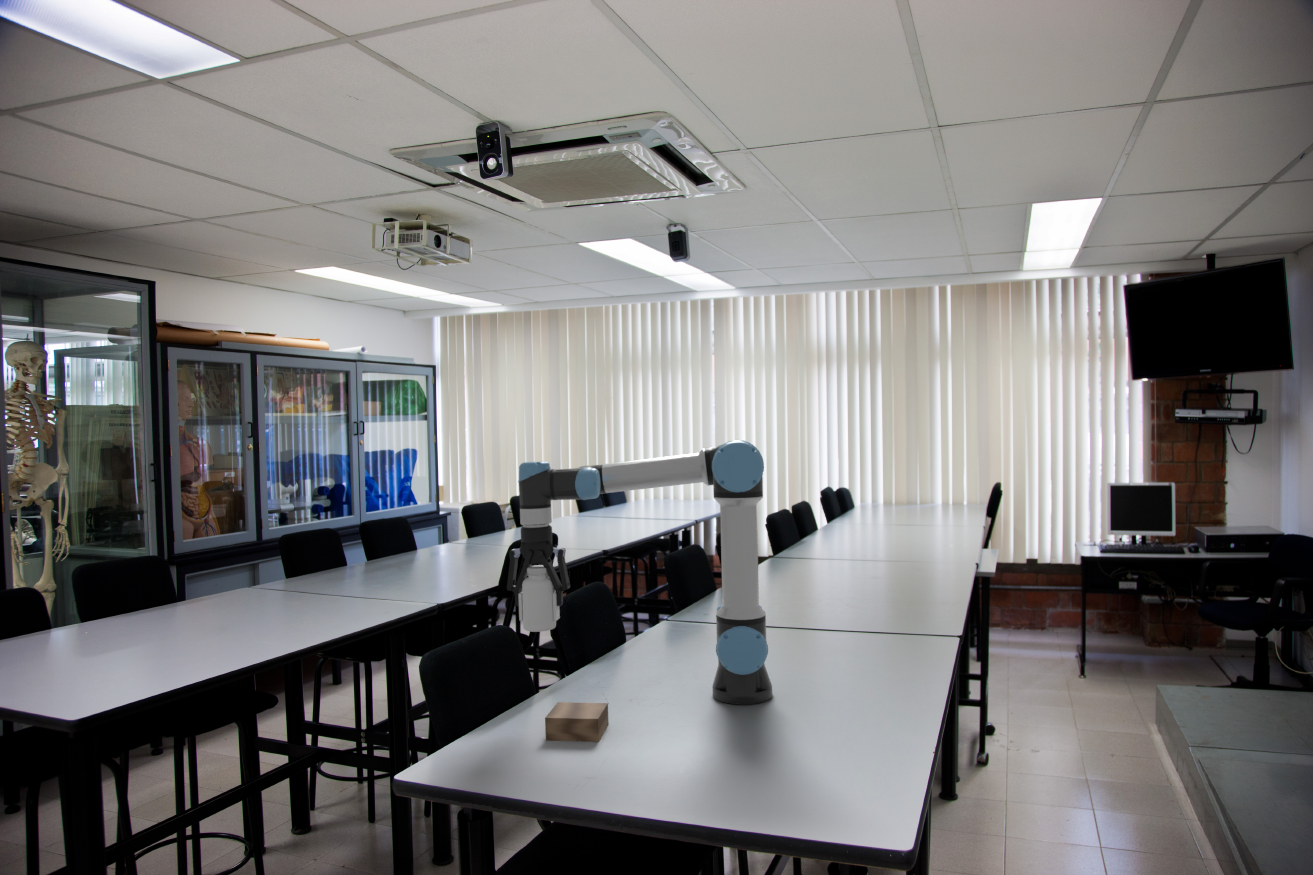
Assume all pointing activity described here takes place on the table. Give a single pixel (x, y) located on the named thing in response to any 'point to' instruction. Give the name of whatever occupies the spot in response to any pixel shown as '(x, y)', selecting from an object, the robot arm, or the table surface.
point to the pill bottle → (537, 600)
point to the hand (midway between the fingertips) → (539, 619)
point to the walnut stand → (576, 722)
